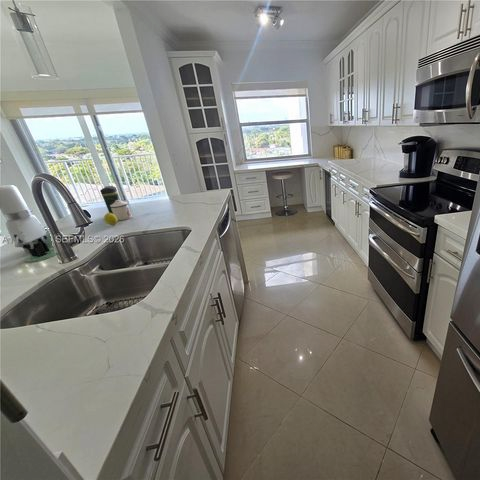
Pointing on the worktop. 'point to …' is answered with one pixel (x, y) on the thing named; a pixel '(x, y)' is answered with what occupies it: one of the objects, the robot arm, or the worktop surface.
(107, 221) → the lemon
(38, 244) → the lid
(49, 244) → the green round open container
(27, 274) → the worktop surface
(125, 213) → the teacup with lid
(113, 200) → the coffee jar
